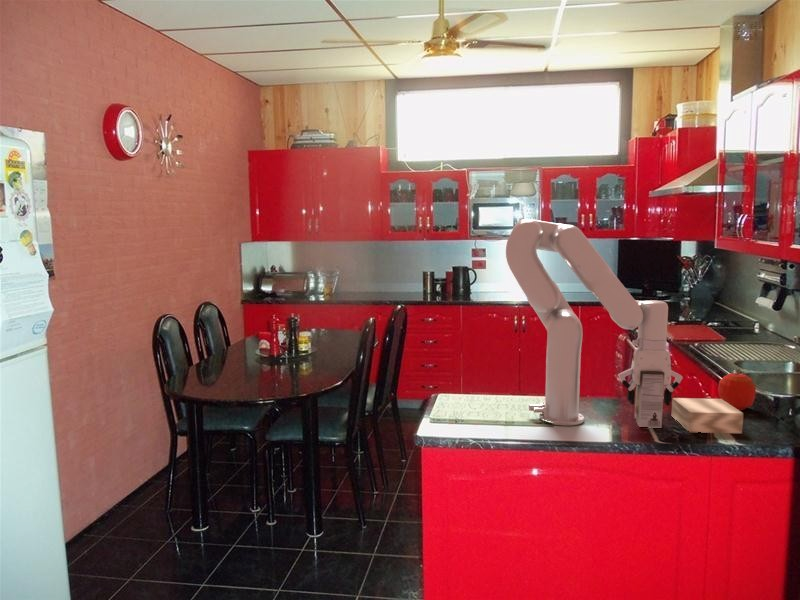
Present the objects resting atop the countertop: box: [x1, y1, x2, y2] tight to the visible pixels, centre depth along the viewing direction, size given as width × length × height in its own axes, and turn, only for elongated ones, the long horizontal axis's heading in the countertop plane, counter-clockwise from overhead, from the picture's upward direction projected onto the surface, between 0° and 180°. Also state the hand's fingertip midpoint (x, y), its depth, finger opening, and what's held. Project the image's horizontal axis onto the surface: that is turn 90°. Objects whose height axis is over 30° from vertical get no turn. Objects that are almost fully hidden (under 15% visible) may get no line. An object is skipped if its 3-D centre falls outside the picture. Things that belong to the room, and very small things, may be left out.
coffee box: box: [634, 371, 665, 429], centre depth 184 cm, size 9×6×16 cm
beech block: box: [670, 397, 744, 434], centre depth 184 cm, size 14×14×6 cm
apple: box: [717, 372, 757, 411], centre depth 200 cm, size 10×10×12 cm
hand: (648, 403), depth 184 cm, fingers open, 9 cm apart
